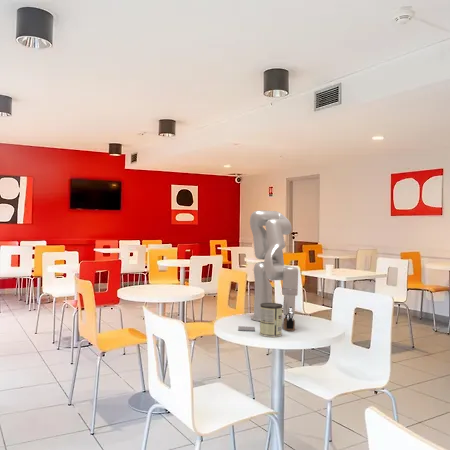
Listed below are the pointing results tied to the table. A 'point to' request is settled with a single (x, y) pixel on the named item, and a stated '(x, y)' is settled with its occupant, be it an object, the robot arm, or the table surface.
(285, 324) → the walnut block
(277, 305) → the coffee can
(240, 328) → the slate coaster
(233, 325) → the table surface
